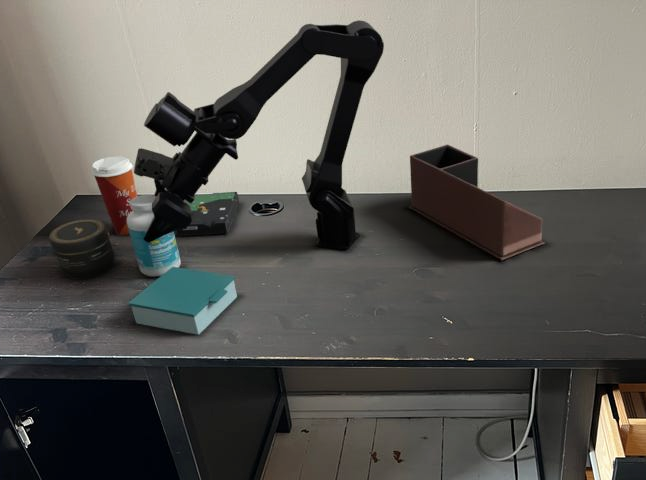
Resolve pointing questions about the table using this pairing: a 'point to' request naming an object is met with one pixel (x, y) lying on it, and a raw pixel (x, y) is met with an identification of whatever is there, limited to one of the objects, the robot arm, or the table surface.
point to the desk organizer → (469, 204)
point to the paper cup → (116, 189)
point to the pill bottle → (158, 252)
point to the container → (184, 300)
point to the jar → (82, 248)
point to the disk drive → (211, 213)
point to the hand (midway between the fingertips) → (146, 229)
